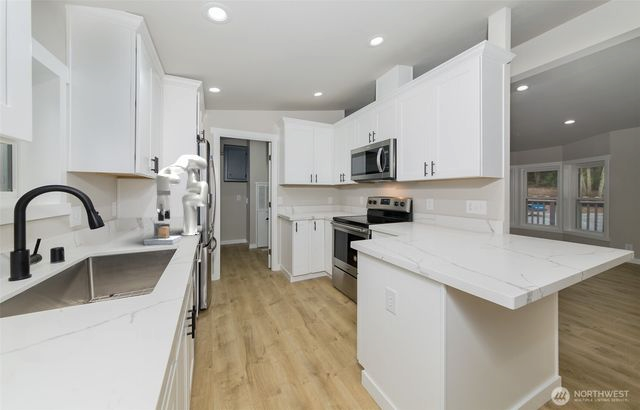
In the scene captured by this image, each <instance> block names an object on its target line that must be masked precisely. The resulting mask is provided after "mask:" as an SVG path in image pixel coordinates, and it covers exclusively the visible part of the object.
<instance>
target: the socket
mask: <svg viewBox="0 0 640 410" xmlns="http://www.w3.org/2000/svg"><path fill="white" fill-rule="evenodd" d="M180 240H181V241H182V235H169V238H167V239H159V236H154V235H153V236H152V237H149V238H147V239H144V240H143V245H144V246H160V245H161V246H163V245H164V246H165V245H166V246H167V245H169V246H170V245H175V244H176V243H178V242H180Z"/></svg>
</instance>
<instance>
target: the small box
mask: <svg viewBox="0 0 640 410" xmlns="http://www.w3.org/2000/svg"><path fill="white" fill-rule="evenodd" d="M159 227H169V233H170V228H171V227H170V223H165V222H157V223H156V222H155V223H153V237H154V236H159Z"/></svg>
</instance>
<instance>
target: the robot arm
mask: <svg viewBox="0 0 640 410" xmlns="http://www.w3.org/2000/svg"><path fill="white" fill-rule="evenodd" d="M207 167H208V162H207V160H206V159H205V158H203V157H201V156H199V155H196V154H183V155H181V156H179V158H178V159H177V160H176V161H175V163H173V164H171V165H169V166H166V167H165V168H163V169H161V170H160V171H159V172H158V174H156V176H155V183H156V196H157V197H156V211H157V221H158V222H164V221H165V220H170V219H171V211H170V210H171V199H170V196H171V187H175V186H178V185H180V183H181V178H180V175H183V174H185V173H186V172H187V180H186V188H185V191H187V194H184V195H183V196H182V197H181V202H182V207H183V208H182V209H183V232H181V235H180V236H195V234H197V235H199V234H200V232H199V231H198V210H197V208H196V207H205V206H206V205H207V200H208V194H209V185H208V182H207V181H203V180H202V181H201V180H200V179H201V177H200V173H199V172H198V171H197V170H202V171H203V170H206V169H207Z"/></svg>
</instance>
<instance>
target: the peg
mask: <svg viewBox="0 0 640 410" xmlns="http://www.w3.org/2000/svg"><path fill="white" fill-rule="evenodd" d="M169 236H170V232H169V227H159V239H167V238H169Z"/></svg>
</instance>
